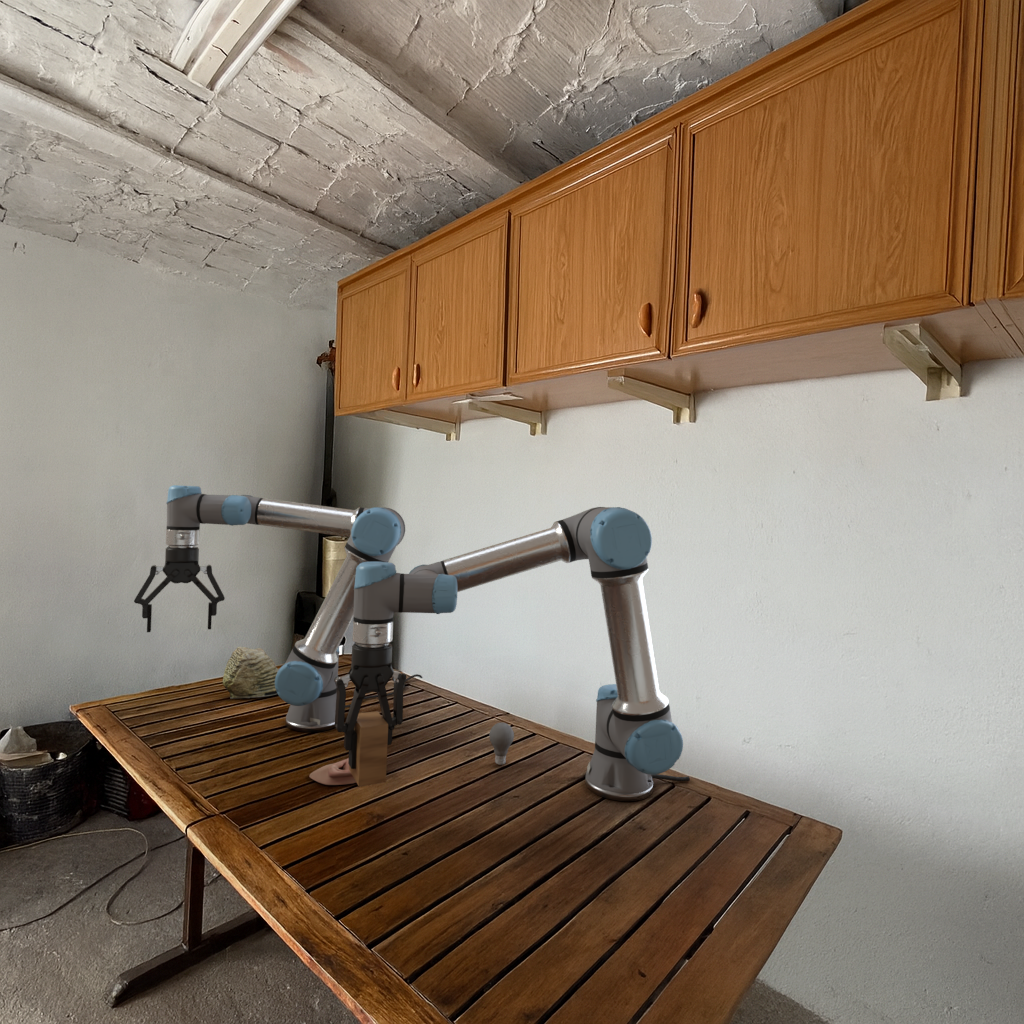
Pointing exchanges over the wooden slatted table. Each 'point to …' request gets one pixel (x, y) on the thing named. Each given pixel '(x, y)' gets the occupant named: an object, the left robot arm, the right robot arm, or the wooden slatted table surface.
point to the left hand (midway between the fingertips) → (179, 629)
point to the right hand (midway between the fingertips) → (367, 763)
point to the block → (370, 749)
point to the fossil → (250, 674)
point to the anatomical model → (334, 774)
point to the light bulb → (501, 741)
